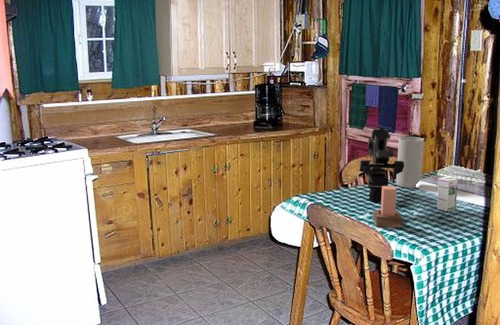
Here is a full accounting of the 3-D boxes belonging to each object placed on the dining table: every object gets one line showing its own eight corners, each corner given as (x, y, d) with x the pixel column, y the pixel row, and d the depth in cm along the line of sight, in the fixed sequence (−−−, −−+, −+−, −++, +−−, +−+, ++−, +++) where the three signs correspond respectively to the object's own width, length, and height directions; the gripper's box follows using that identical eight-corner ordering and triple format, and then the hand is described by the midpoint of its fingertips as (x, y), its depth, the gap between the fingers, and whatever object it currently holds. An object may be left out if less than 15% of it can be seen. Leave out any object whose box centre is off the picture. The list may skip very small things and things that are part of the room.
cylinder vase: (424, 184, 274) (427, 138, 269) (415, 189, 265) (418, 141, 259) (401, 181, 282) (404, 135, 277) (392, 186, 272) (394, 139, 267)
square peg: (380, 218, 216) (382, 186, 214) (392, 218, 216) (394, 186, 213) (382, 222, 212) (383, 189, 209) (394, 222, 211) (396, 189, 208)
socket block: (373, 218, 219) (373, 209, 218) (397, 219, 218) (397, 210, 217) (376, 226, 210) (376, 217, 209) (401, 227, 209) (402, 217, 208)
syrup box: (446, 212, 228) (449, 180, 225) (436, 208, 233) (438, 177, 230) (455, 210, 231) (458, 178, 228) (445, 206, 236) (447, 175, 233)
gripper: (361, 142, 228) (362, 172, 219) (404, 142, 226) (408, 173, 217) (358, 156, 237) (360, 185, 228) (400, 156, 235) (403, 186, 227)
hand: (382, 182), depth 225 cm, fingers open, 9 cm apart
